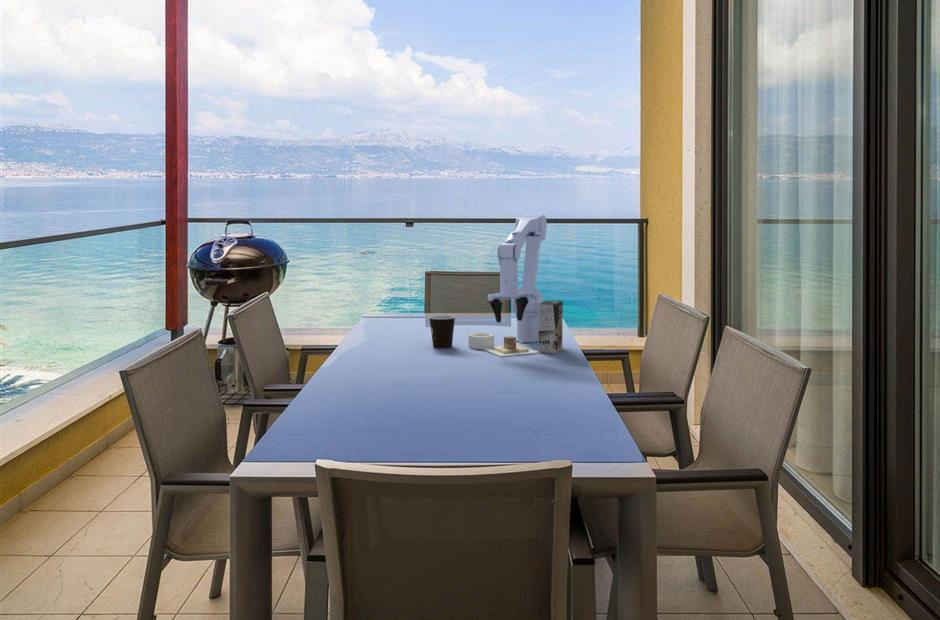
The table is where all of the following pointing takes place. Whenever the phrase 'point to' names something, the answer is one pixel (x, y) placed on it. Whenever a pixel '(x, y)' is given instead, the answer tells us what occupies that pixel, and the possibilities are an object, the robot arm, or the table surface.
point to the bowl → (481, 340)
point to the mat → (509, 353)
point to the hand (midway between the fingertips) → (509, 321)
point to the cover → (510, 346)
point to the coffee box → (550, 326)
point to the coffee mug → (442, 331)
